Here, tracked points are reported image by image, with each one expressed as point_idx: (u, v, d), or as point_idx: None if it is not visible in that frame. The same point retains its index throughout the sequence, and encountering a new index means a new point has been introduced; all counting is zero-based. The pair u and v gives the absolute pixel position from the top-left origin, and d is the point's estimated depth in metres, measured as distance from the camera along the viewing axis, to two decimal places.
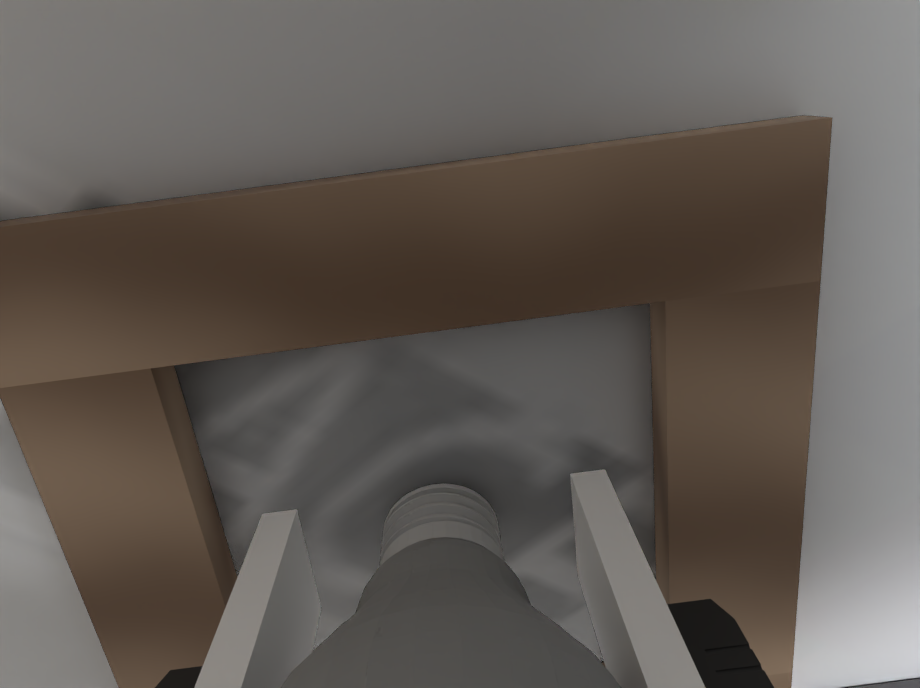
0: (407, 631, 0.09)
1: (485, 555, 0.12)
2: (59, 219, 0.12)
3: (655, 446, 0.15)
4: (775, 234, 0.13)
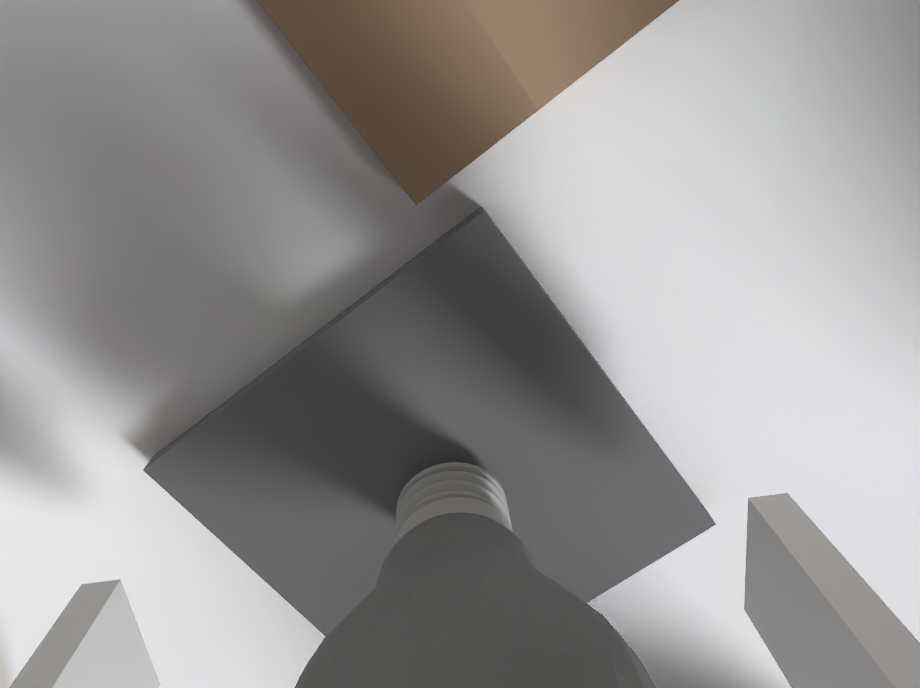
0: (436, 598, 0.09)
1: (499, 528, 0.13)
2: None
3: None
4: None
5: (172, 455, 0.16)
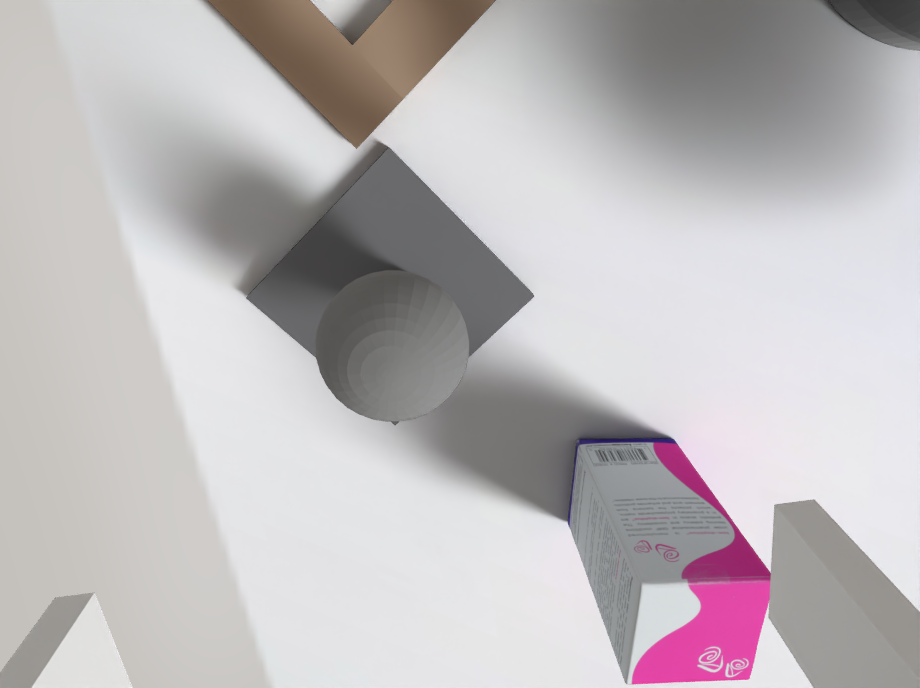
0: (367, 274, 0.26)
1: None
2: None
3: None
4: None
5: (259, 288, 0.33)
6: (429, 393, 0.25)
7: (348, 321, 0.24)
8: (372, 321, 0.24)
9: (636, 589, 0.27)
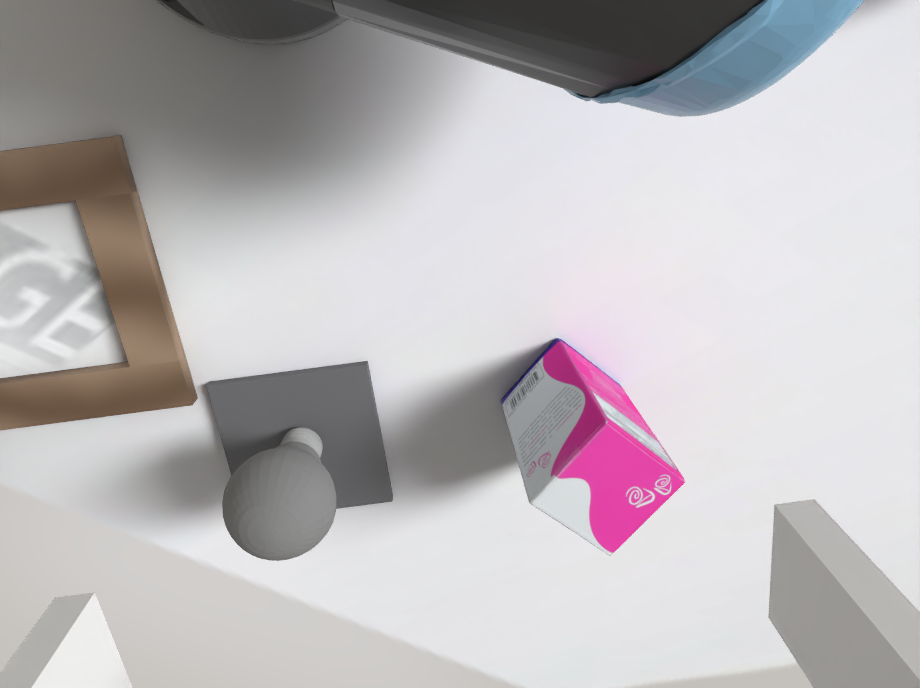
0: None
1: None
2: None
3: None
4: (107, 176, 0.37)
5: None
6: (301, 520, 0.34)
7: (229, 527, 0.35)
8: (234, 518, 0.34)
9: (535, 506, 0.33)
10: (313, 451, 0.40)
